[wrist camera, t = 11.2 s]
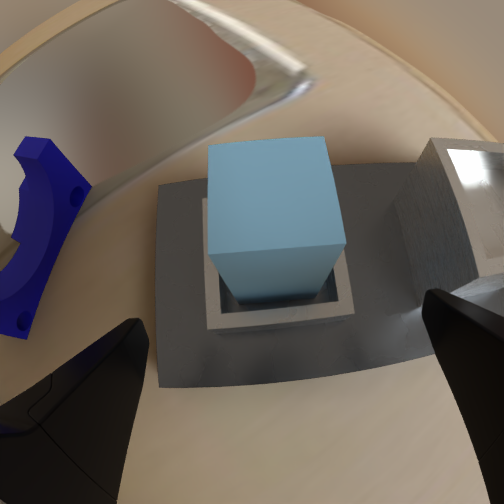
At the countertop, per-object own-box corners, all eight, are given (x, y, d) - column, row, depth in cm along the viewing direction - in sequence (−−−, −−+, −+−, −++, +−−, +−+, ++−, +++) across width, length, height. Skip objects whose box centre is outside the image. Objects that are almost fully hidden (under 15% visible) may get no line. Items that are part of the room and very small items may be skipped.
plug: (306, 227, 16) (323, 136, 9) (315, 297, 14) (346, 243, 8) (235, 233, 16) (208, 145, 9) (238, 304, 15) (207, 254, 8)
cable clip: (56, 178, 21) (15, 135, 16) (92, 187, 20) (50, 138, 15) (-4, 314, 18) (-60, 294, 12) (28, 340, 17) (-35, 325, 11)
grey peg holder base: (476, 178, 18) (526, 115, 11) (517, 324, 15) (596, 298, 8) (168, 201, 19) (121, 122, 12) (171, 385, 15) (100, 396, 8)
